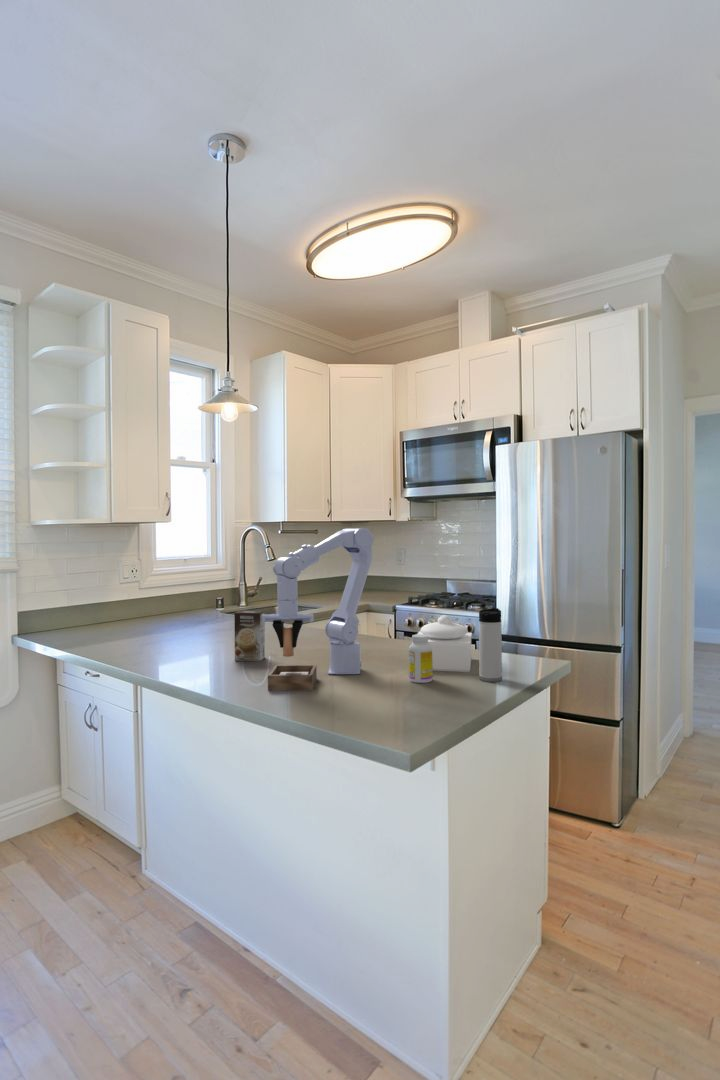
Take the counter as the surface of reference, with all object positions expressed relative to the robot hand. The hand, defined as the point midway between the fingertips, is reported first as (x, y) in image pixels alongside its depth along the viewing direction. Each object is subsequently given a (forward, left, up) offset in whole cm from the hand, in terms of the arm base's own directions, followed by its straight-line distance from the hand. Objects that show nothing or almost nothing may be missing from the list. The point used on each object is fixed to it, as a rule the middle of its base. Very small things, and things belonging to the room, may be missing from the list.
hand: (288, 646), depth 165 cm
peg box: (-2, +3, -10) cm, 10 cm away
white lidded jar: (-46, -20, -10) cm, 52 cm away
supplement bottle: (-38, 0, -10) cm, 39 cm away
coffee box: (+17, -29, -10) cm, 35 cm away
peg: (0, 0, -2) cm, 2 cm away
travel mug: (-58, -1, -10) cm, 59 cm away
